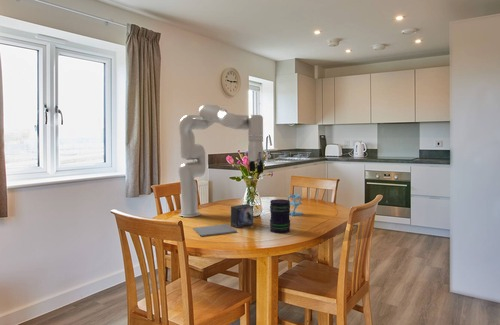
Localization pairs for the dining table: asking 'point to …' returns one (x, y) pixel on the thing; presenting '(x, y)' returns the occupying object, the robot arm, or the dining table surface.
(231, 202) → the dining table surface
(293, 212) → the chair
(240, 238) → the dining table surface
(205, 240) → the dining table surface
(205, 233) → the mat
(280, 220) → the storage jar
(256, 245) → the dining table surface
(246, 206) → the small box
